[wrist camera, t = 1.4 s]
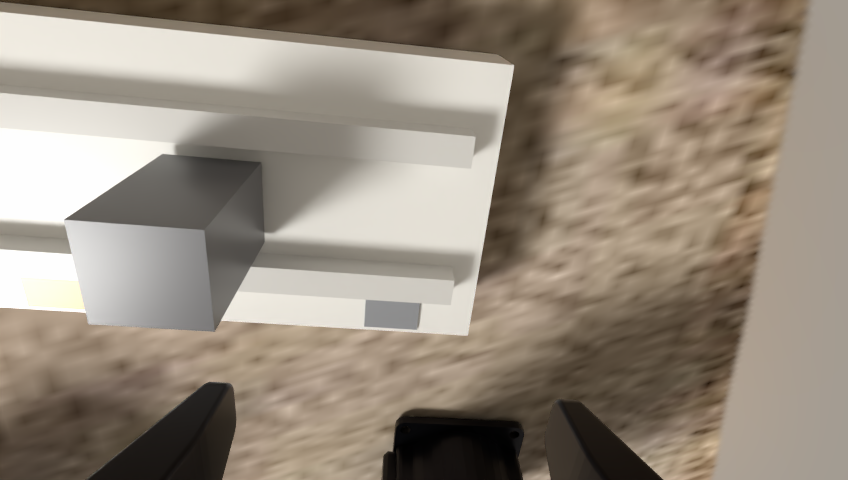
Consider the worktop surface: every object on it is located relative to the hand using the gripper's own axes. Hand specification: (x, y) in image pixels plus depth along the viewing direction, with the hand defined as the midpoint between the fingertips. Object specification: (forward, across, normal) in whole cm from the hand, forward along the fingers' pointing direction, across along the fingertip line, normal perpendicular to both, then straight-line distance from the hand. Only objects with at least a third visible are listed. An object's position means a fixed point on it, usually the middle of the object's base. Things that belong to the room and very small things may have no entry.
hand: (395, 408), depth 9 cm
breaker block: (+12, +6, 0) cm, 13 cm away
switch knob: (+9, +6, 0) cm, 11 cm away
